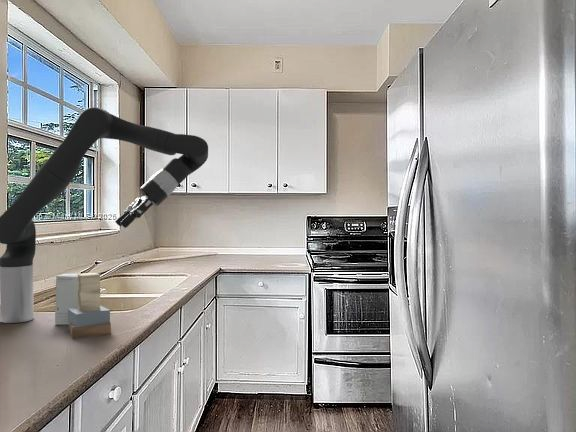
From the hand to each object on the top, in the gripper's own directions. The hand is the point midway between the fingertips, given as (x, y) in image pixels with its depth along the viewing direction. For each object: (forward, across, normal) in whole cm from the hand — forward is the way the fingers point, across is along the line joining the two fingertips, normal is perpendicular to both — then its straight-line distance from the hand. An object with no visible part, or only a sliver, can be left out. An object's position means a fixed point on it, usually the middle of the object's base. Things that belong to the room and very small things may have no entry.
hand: (119, 225), depth 150 cm
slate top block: (+25, +3, +13) cm, 29 cm away
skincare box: (+30, -12, +14) cm, 35 cm away
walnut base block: (+28, +3, +16) cm, 32 cm away
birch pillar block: (+23, +2, +11) cm, 25 cm away
